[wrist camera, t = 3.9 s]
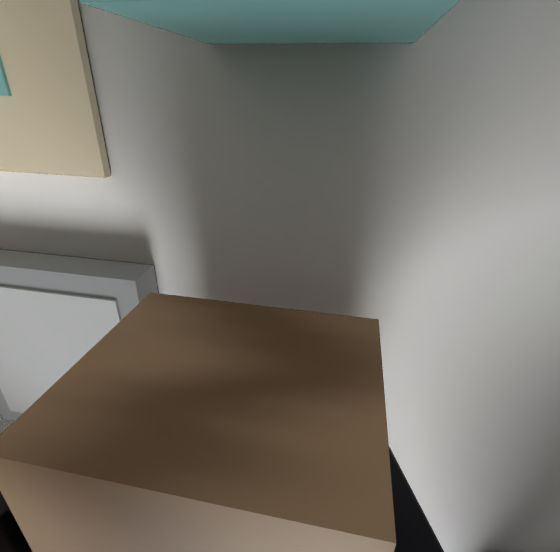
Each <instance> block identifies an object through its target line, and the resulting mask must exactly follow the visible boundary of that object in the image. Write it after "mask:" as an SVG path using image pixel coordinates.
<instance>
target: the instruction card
mask: <svg viewBox="0 0 560 552" xmlns="http://www.w3.org/2000/svg"><path fill="white" fill-rule="evenodd" d="M0 171H7V172H23V173H39V174H55V175H70V176H86V177H102V178H106V177H109V176H111V174H110V168H109V163H108V158H107V153H106V148H105V142H104V137H103V132H102V127H101V122H100V116H99V111H98V106H97V101H96V95H95V90H94V85H93V80H92V75H91V69H90V64H89V59H88V54H87V49H86V43H85V38H84V33H83V28H82V22H81V17H80V12H79V7H78V2H77V0H0Z"/></svg>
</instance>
